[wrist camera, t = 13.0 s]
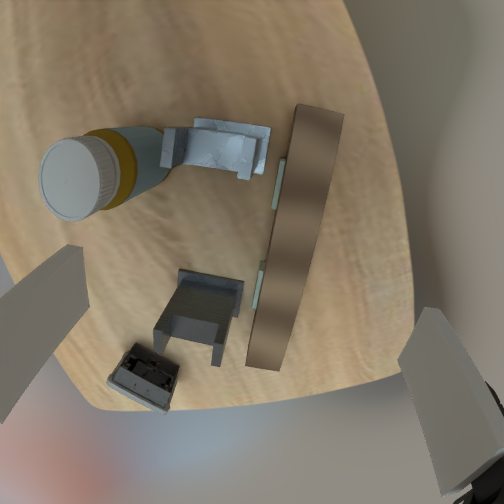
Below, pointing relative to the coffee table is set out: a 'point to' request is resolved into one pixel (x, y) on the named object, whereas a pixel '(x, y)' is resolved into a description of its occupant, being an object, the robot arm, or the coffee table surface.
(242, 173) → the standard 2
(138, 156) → the bottle
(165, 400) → the electrical switch
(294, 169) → the rail
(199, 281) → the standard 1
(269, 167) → the coffee table surface
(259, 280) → the blocks
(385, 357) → the coffee table surface
